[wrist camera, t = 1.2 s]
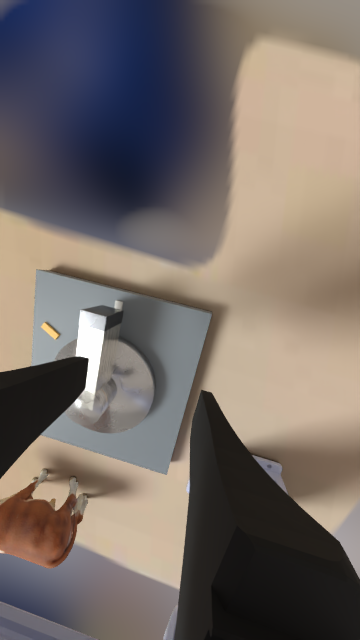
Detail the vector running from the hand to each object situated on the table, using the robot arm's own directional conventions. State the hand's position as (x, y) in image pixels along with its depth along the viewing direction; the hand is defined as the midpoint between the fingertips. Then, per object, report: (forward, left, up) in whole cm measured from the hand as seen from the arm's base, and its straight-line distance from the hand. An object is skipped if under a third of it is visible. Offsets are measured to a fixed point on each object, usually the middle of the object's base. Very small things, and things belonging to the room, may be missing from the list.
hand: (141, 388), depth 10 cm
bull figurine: (+11, +25, -10) cm, 29 cm away
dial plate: (+5, +6, -9) cm, 12 cm away
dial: (+6, +4, -8) cm, 11 cm away
